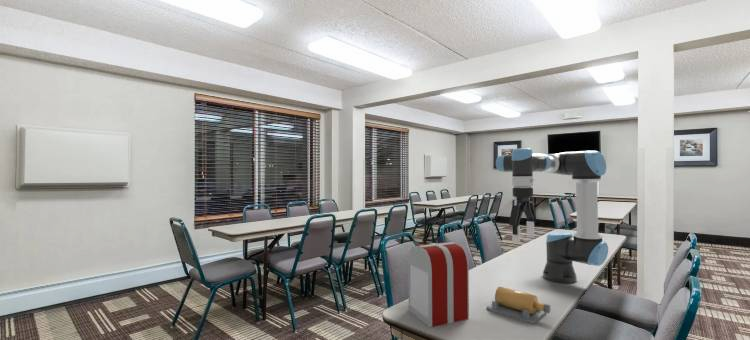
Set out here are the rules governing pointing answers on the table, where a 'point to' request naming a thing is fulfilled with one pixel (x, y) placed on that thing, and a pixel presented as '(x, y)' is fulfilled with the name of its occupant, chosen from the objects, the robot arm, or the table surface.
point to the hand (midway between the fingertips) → (523, 240)
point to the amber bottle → (519, 300)
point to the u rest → (516, 313)
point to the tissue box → (439, 283)
